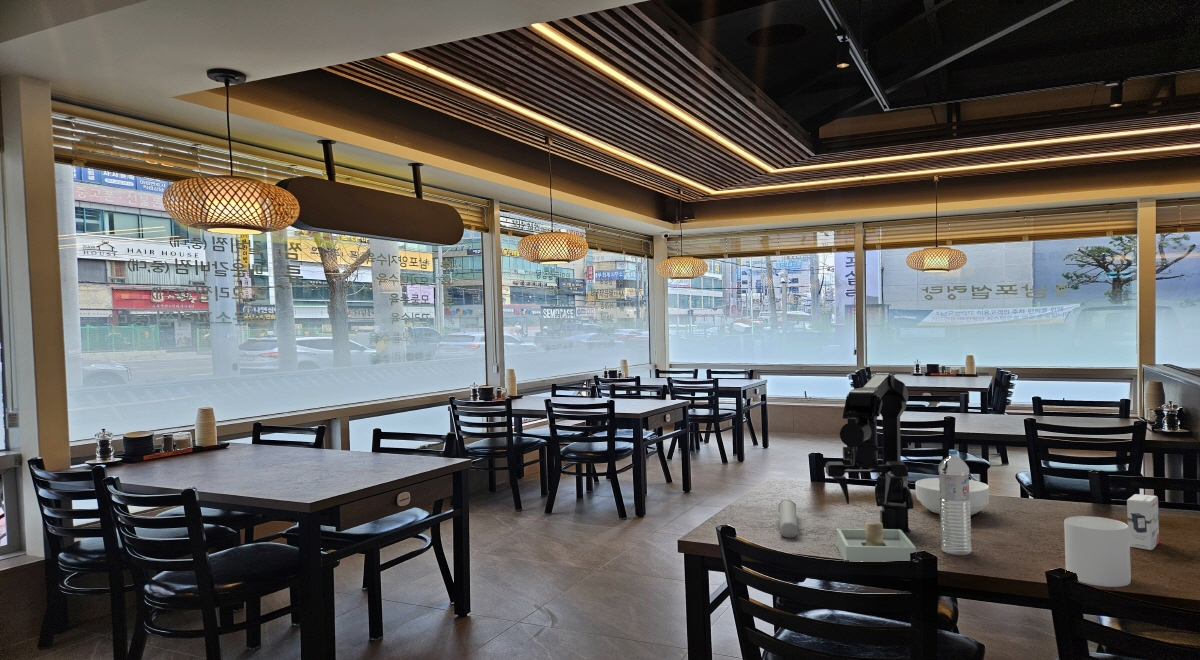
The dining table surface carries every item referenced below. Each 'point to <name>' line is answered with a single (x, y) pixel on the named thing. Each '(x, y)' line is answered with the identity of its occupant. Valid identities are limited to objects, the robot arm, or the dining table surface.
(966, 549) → the water bottle
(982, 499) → the bowl
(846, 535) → the caddy
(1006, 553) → the dining table surface
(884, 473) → the robot arm
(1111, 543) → the cup
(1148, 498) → the ink box
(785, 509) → the tube
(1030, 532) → the dining table surface
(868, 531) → the peg
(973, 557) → the dining table surface
